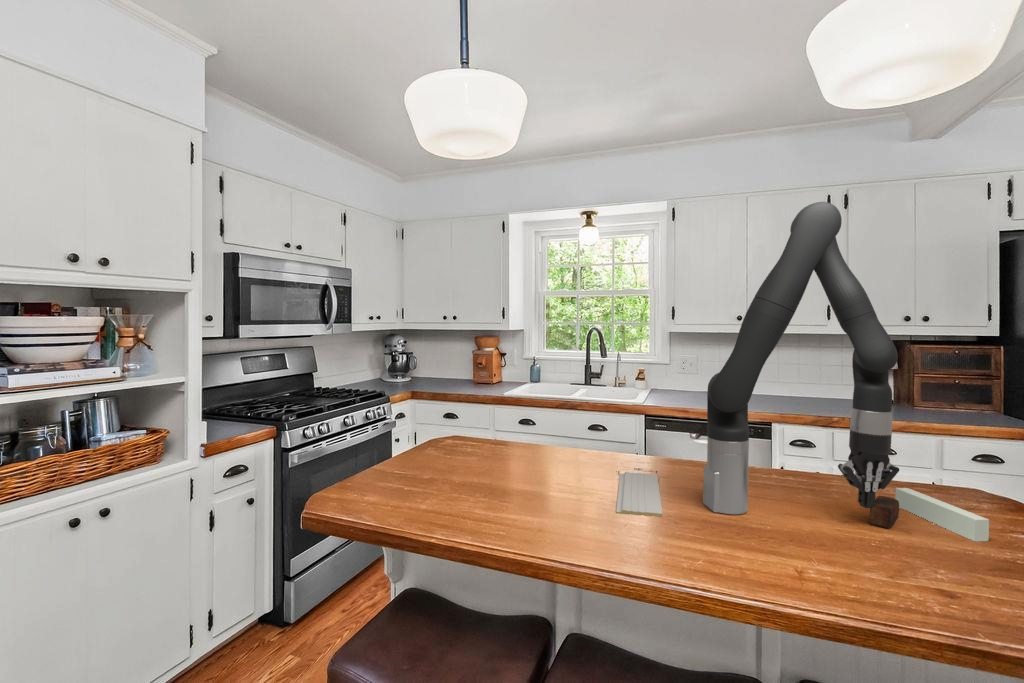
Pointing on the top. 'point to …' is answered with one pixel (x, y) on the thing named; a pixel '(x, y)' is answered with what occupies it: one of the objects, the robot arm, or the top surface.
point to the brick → (884, 511)
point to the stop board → (944, 514)
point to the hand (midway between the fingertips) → (866, 506)
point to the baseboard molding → (639, 494)
